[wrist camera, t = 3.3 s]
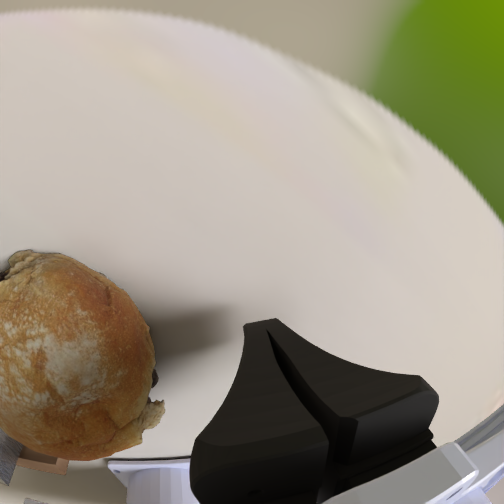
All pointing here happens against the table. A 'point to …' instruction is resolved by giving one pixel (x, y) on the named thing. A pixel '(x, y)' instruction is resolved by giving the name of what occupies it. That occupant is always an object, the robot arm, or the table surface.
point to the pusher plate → (8, 456)
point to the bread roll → (72, 360)
